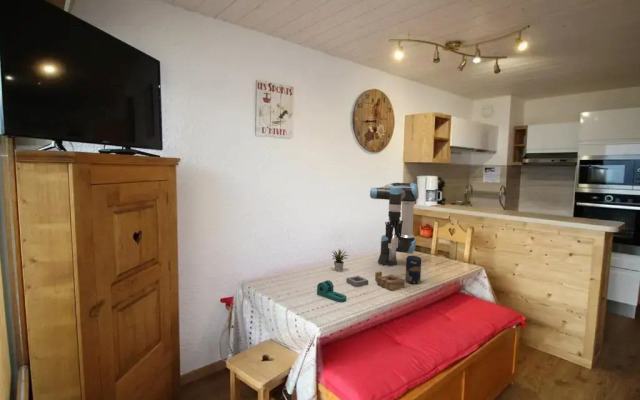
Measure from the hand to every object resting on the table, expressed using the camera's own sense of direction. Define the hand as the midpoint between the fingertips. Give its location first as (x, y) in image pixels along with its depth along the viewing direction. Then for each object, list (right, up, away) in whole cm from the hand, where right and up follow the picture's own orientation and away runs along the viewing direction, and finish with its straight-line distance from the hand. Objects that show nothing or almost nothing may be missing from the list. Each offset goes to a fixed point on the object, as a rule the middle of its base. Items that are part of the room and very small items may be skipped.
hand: (392, 247), depth 206 cm
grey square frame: (-22, -24, +5) cm, 33 cm away
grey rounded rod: (0, -8, +1) cm, 8 cm away
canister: (+16, -25, +11) cm, 31 cm away
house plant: (-33, -21, +31) cm, 50 cm away
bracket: (-39, -26, -19) cm, 50 cm away
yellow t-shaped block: (-5, -24, +8) cm, 25 cm away
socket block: (-1, -25, +2) cm, 25 cm away
